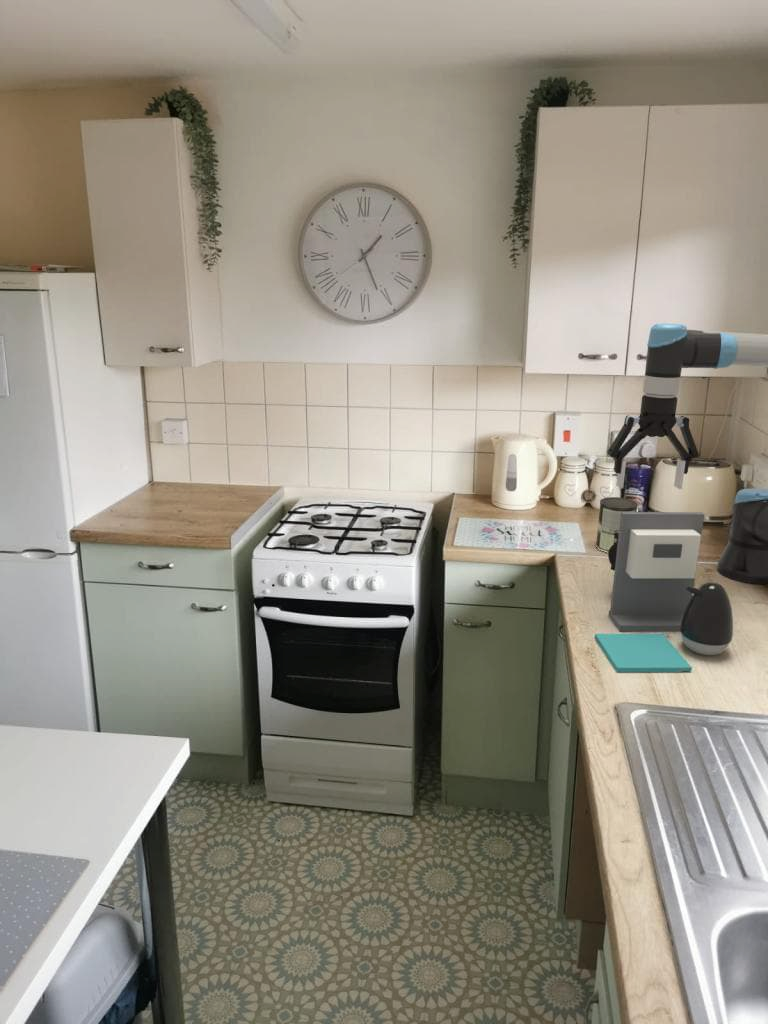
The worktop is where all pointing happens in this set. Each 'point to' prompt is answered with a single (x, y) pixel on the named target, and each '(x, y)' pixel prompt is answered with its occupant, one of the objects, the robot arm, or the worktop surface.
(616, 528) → the coffee can
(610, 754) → the worktop surface
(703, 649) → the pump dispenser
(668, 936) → the worktop surface
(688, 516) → the mounted unit
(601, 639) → the mat
